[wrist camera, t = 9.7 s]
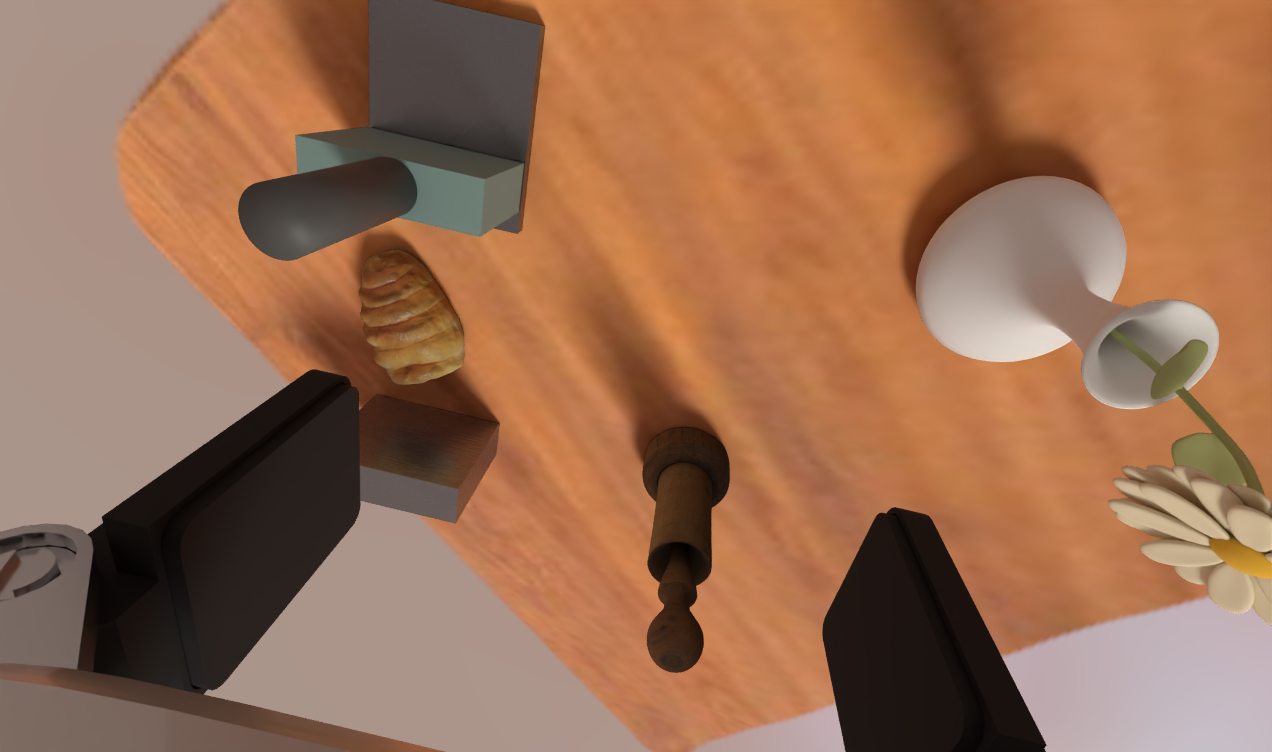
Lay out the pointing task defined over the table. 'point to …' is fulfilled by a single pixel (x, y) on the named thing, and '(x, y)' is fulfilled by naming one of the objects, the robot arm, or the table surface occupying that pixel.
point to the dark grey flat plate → (456, 79)
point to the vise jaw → (376, 190)
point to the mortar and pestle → (681, 536)
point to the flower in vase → (1104, 364)
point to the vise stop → (422, 457)
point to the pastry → (408, 319)
